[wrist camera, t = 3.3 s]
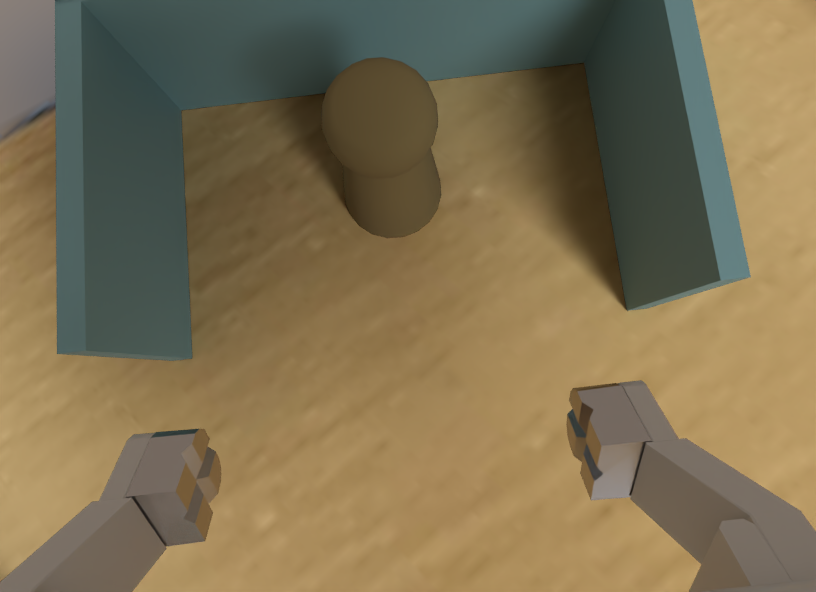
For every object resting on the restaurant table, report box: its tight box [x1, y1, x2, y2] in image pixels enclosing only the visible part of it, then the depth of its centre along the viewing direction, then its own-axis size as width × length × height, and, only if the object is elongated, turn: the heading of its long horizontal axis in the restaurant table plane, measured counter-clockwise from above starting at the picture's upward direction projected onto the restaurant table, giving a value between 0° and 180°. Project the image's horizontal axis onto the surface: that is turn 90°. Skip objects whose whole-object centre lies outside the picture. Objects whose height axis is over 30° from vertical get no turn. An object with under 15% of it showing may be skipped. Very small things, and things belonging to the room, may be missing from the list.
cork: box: [321, 57, 441, 238], centre depth 27 cm, size 6×6×11 cm
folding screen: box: [55, 0, 751, 361], centre depth 28 cm, size 17×28×10 cm, turn 96°
